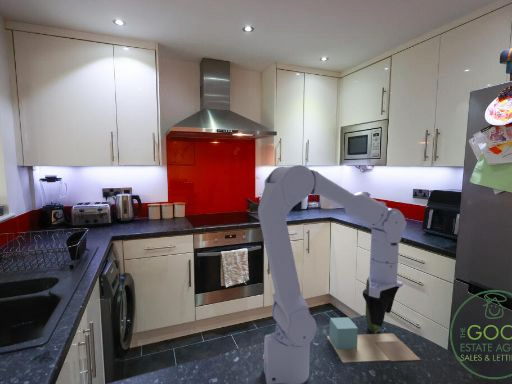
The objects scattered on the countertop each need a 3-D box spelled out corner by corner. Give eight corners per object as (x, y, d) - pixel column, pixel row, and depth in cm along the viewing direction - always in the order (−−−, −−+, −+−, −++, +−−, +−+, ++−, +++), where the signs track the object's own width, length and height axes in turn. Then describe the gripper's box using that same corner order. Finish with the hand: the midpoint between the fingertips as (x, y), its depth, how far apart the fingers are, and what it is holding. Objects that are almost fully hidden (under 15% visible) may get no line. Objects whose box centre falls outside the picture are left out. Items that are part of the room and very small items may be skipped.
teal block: (337, 349, 64) (337, 328, 64) (329, 337, 69) (329, 318, 69) (357, 348, 64) (357, 328, 64) (348, 336, 69) (348, 317, 69)
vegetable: (360, 330, 74) (363, 259, 73) (371, 327, 76) (374, 257, 75) (374, 339, 70) (377, 264, 69) (385, 335, 72) (388, 261, 71)
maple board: (343, 369, 59) (343, 363, 59) (326, 340, 69) (326, 335, 69) (420, 365, 61) (420, 359, 61) (392, 337, 71) (392, 332, 71)
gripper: (396, 271, 53) (393, 338, 54) (409, 256, 65) (406, 311, 65) (359, 264, 58) (357, 325, 58) (378, 251, 69) (375, 302, 70)
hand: (381, 317), depth 62 cm, fingers open, 7 cm apart
